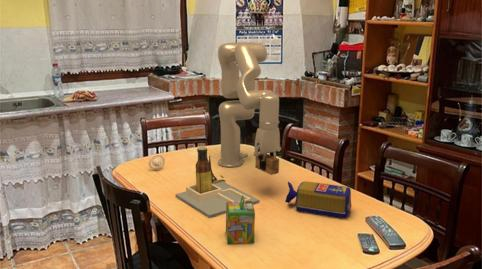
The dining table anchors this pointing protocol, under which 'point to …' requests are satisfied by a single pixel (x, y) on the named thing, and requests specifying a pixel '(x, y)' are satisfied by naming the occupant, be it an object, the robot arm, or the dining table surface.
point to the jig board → (213, 198)
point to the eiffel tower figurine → (214, 176)
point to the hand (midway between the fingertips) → (266, 167)
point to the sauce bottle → (203, 172)
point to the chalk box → (240, 222)
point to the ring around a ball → (156, 162)
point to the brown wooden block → (269, 164)
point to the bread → (321, 199)
